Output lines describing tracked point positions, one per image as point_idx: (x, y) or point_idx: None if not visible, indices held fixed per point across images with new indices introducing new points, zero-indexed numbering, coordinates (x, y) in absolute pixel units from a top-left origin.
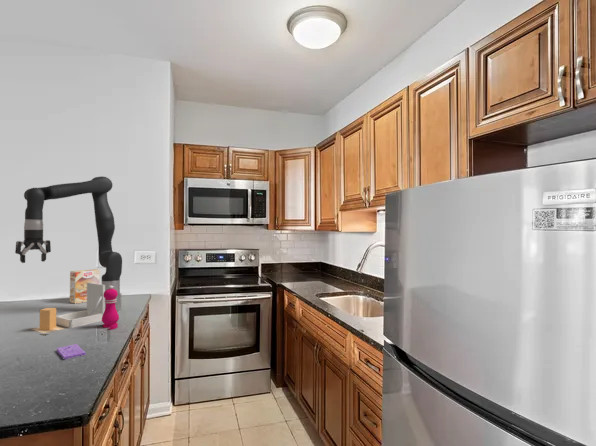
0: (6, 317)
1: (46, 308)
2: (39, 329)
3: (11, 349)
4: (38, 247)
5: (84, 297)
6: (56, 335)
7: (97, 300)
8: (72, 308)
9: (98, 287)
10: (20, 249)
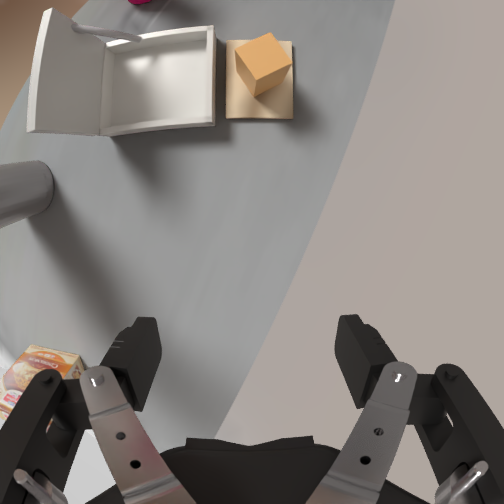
0: (255, 353)
1: (262, 69)
2: (279, 90)
3: (379, 15)
4: (176, 467)
5: (53, 358)
6: (267, 20)
7: (81, 59)
8: (93, 312)
9: (52, 39)
10: (459, 408)
